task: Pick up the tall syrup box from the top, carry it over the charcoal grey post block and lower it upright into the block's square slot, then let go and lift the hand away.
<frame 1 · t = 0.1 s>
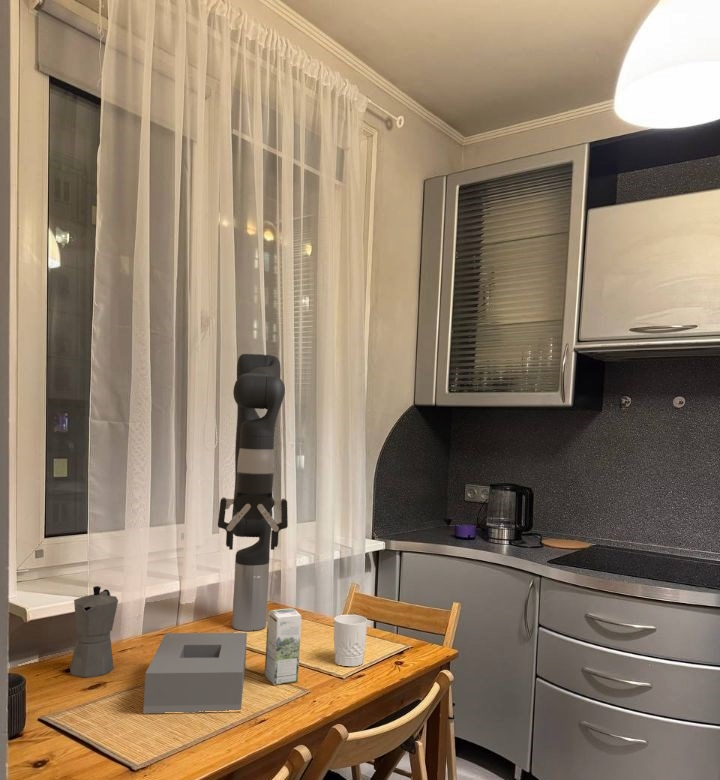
hand: (251, 549, 136), 29 cm above the table, tool pointing down, fingers open, 8 cm apart
post block: (199, 688, 135), on the table
syrup box: (281, 680, 141), on the table
coffeepot: (93, 669, 144), on the table
white cup: (349, 663, 154), on the table
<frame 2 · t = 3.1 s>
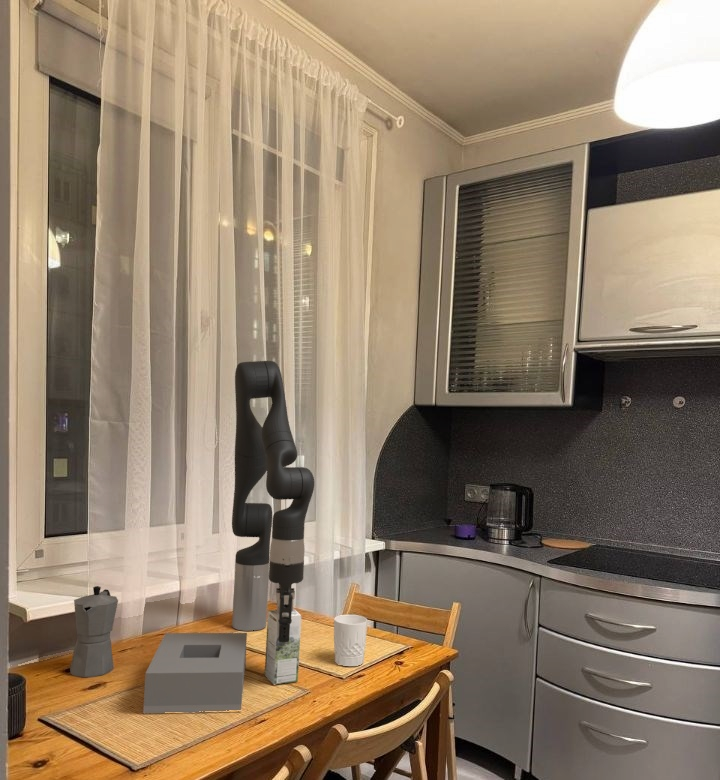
hand: (283, 635, 142), 9 cm above the table, tool pointing down, fingers closed on syrup box, 7 cm apart
syrup box: (281, 680, 141), on the table, touching gripper
everything else where it was.
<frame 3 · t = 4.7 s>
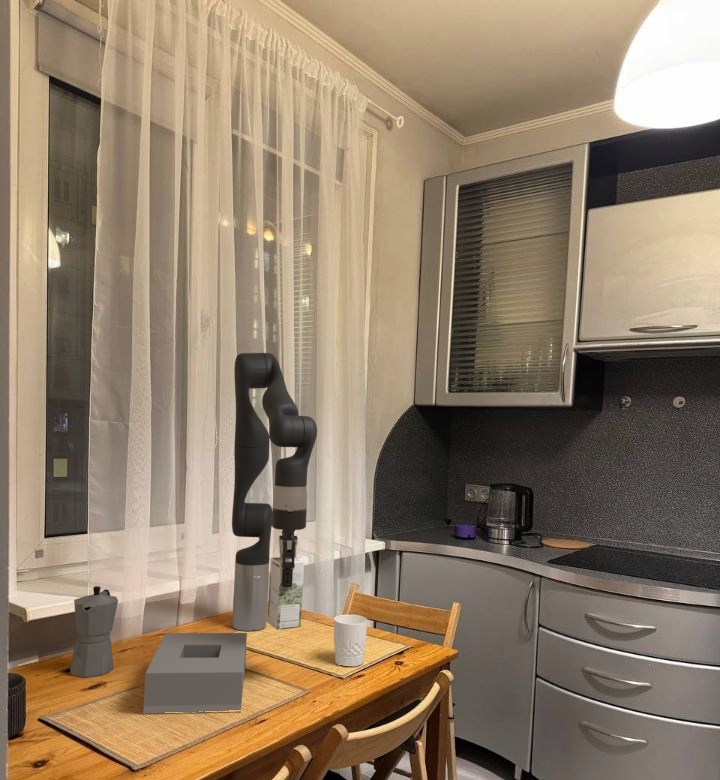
hand: (286, 582, 143), 21 cm above the table, tool pointing down, fingers closed on syrup box, 7 cm apart
syrup box: (284, 626, 142), point 11 cm above the table, touching gripper
everything else where it was.
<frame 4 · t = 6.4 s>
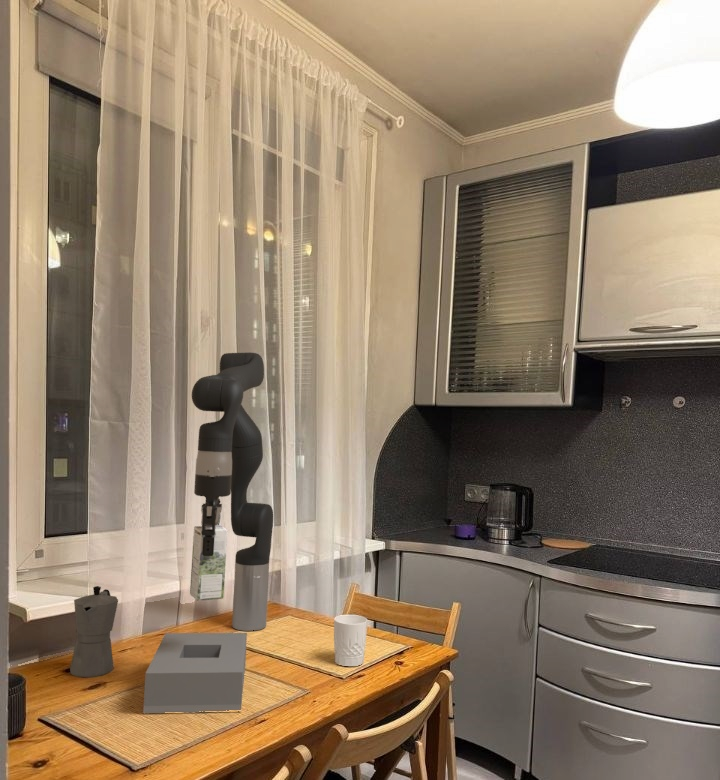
hand: (209, 552, 137), 28 cm above the table, tool pointing down, fingers closed on syrup box, 7 cm apart
syrup box: (206, 598, 136), point 18 cm above the table, touching gripper
everything else where it was.
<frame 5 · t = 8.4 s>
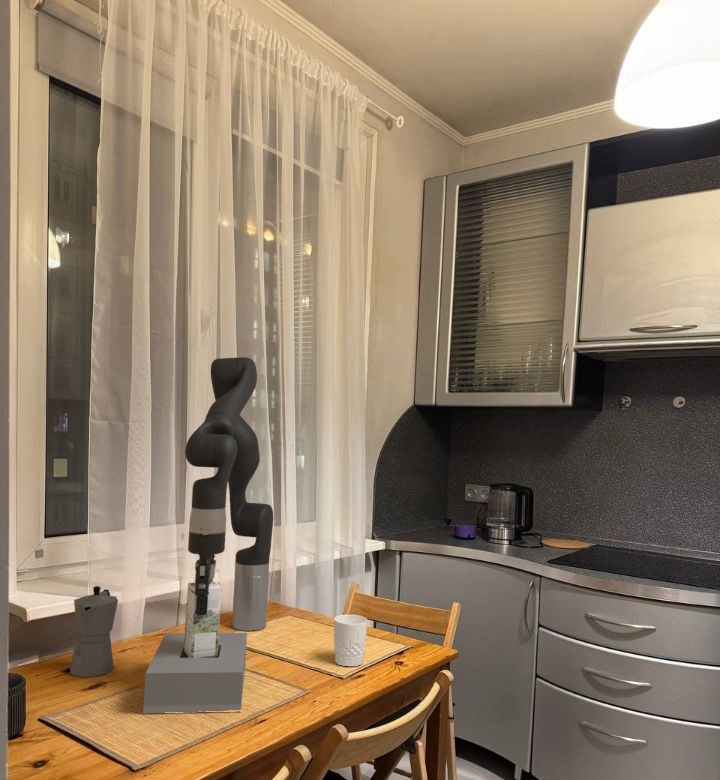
hand: (203, 609, 136), 16 cm above the table, tool pointing down, fingers closed on syrup box, 7 cm apart
syrup box: (200, 655, 136), point 7 cm above the table, touching gripper
everything else where it was.
when the fingers open (13 cm above the table, at t = 10.1 s): syrup box drops 2 cm, resting on post block.
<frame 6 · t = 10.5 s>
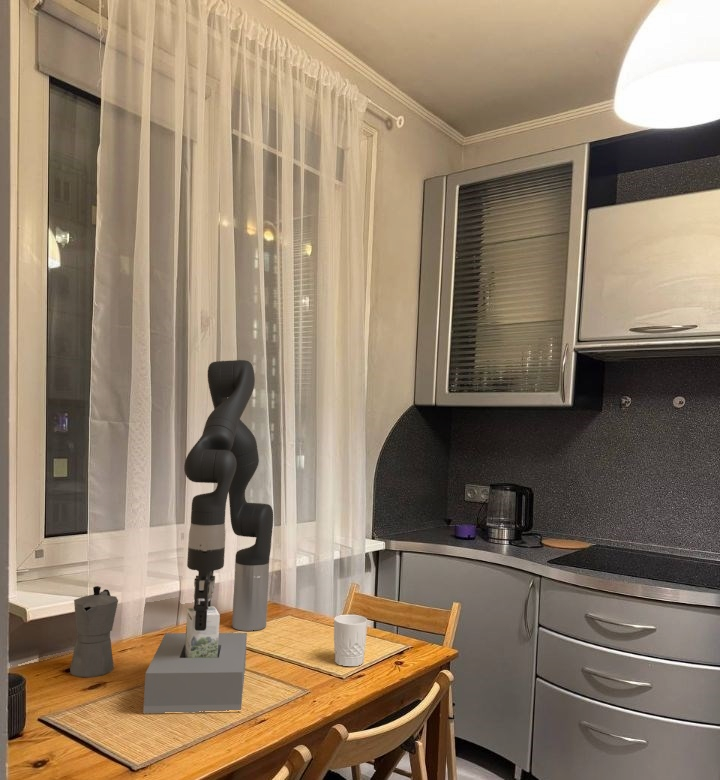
hand: (202, 623, 136), 13 cm above the table, tool pointing down, fingers open, 8 cm apart
syrup box: (199, 682, 135), point 1 cm above the table, touching post block
everything else where it was.
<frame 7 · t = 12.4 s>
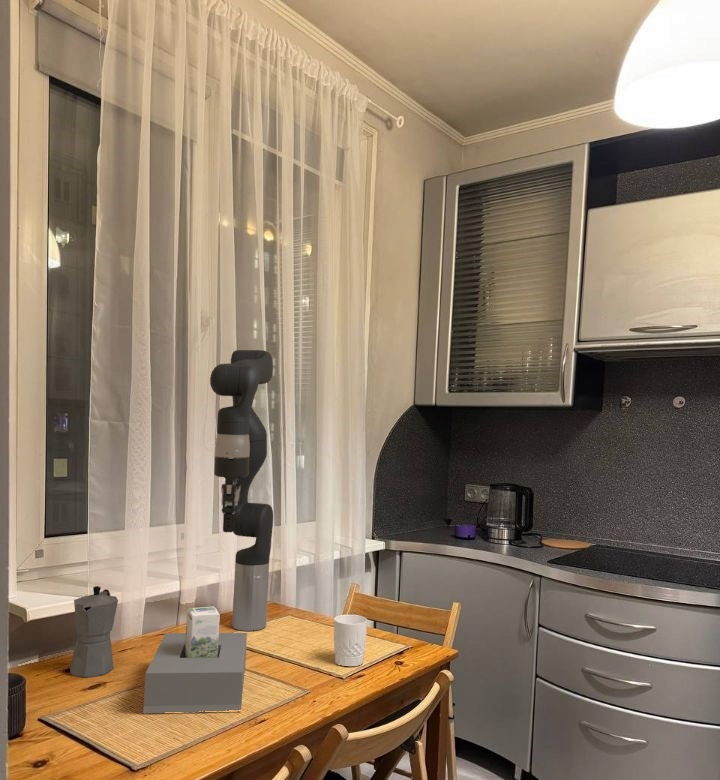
hand: (229, 528, 144), 32 cm above the table, tool pointing down, fingers open, 8 cm apart
nothing on the table moved.
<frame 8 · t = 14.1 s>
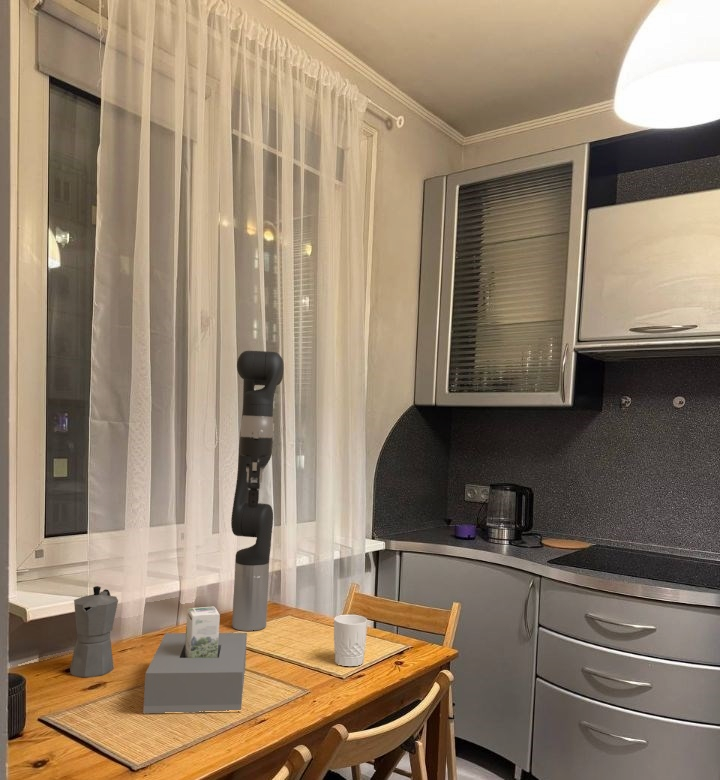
hand: (253, 505, 152), 36 cm above the table, tool pointing down, fingers open, 8 cm apart
nothing on the table moved.
at the end: syrup box 0.2 cm off-centre on the post block, point 1.3 cm above the post block's base; syrup box tilted 0°; the gripper is holding nothing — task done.
